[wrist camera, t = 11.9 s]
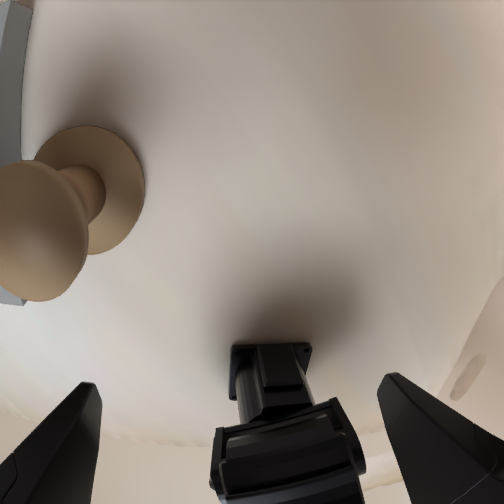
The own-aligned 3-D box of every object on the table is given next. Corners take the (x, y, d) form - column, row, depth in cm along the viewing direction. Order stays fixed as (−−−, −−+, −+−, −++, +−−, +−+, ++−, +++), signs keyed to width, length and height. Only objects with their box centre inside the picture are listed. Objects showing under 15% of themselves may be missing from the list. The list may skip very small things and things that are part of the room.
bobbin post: (147, 249, 19) (116, 326, 12) (42, 247, 18) (-18, 311, 11) (145, 122, 16) (98, 127, 9) (31, 132, 15) (-51, 152, 8)
